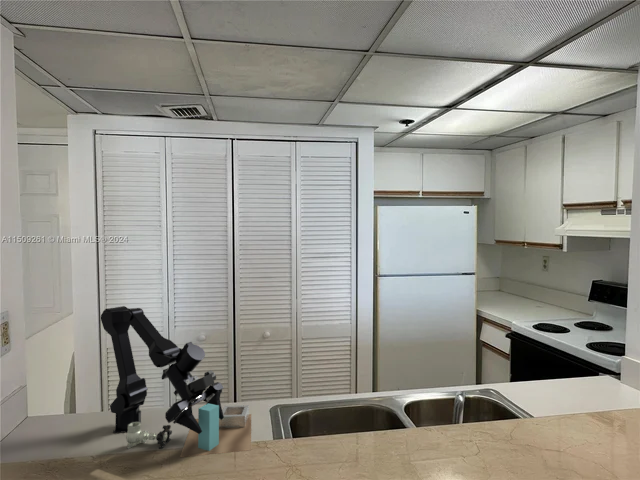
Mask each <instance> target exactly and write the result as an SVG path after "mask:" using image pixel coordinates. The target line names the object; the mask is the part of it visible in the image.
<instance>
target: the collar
mask: <svg viewBox="0 0 640 480" xmlns="http://www.w3.org/2000/svg"><path fill="white" fill-rule="evenodd" d="M222 412H223V416H224V418H223V419H222V420H221V419H220V418H219V428H236V427H245V425H246V422H247V419H248V417H249V414H250V405H249V404H246V405H245V404H244V405H243V404H242V405H237V404H236V405H224V406H223V407H222Z"/></svg>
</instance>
